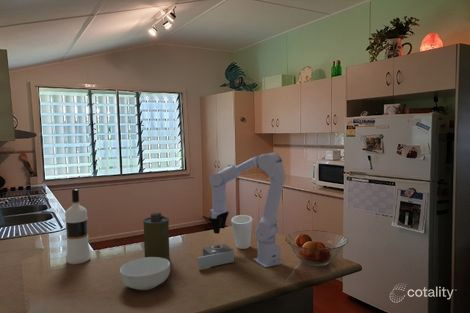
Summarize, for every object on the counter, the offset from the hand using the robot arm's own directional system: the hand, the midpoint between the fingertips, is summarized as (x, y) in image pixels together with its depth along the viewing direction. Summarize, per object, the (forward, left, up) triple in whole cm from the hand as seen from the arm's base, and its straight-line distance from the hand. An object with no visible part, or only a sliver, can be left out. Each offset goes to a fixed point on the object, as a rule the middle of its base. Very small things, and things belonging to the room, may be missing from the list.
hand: (219, 230), depth 147 cm
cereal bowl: (-16, +36, -10) cm, 40 cm away
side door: (-13, +7, -9) cm, 18 cm away
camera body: (-8, +5, -10) cm, 14 cm away
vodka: (+20, +56, -10) cm, 60 cm away
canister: (+4, +27, -10) cm, 29 cm away
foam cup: (+2, -12, -9) cm, 16 cm away
